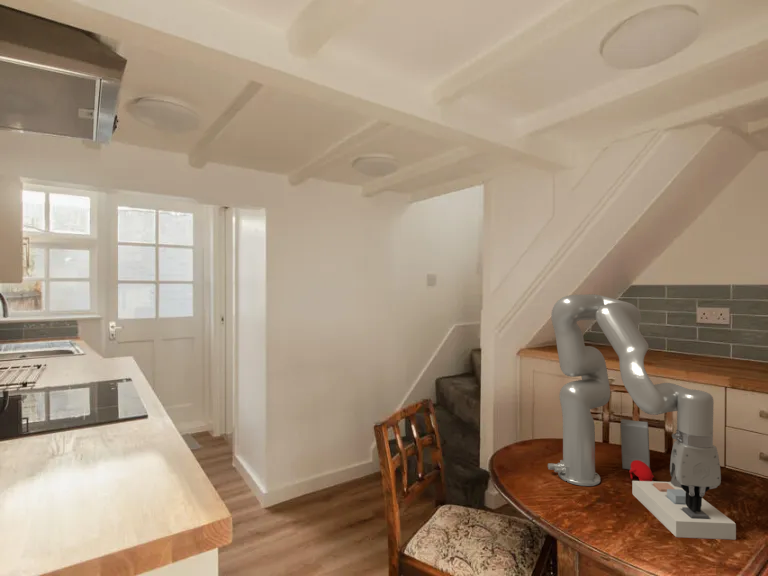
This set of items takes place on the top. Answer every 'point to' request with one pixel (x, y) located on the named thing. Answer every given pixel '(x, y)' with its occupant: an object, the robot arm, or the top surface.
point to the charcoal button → (695, 513)
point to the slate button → (677, 496)
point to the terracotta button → (662, 486)
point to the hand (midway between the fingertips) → (693, 508)
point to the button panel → (683, 514)
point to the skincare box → (634, 442)
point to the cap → (641, 471)
